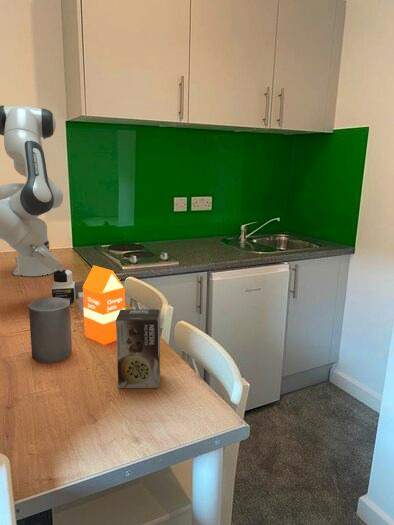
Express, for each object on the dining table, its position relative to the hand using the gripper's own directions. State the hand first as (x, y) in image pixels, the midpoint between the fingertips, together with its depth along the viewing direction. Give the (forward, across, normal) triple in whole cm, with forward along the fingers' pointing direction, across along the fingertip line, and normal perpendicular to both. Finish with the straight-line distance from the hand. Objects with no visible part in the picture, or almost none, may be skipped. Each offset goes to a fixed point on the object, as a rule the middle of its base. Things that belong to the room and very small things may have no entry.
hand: (62, 269), depth 133 cm
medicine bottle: (+9, 0, +9) cm, 13 cm away
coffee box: (+13, -59, +6) cm, 60 cm away
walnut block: (+14, +7, +4) cm, 16 cm away
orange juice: (+13, -32, +6) cm, 35 cm away
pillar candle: (+2, -37, +16) cm, 40 cm away
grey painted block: (+13, -7, +5) cm, 16 cm away
